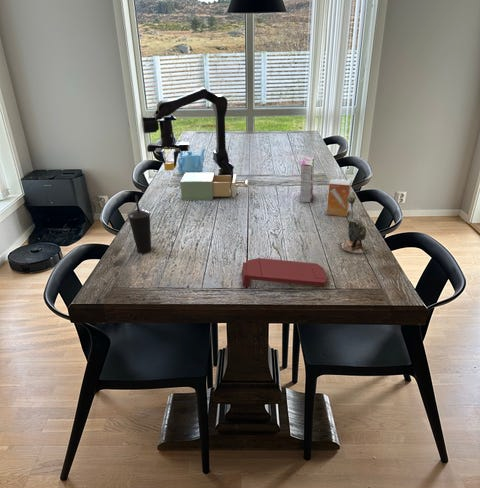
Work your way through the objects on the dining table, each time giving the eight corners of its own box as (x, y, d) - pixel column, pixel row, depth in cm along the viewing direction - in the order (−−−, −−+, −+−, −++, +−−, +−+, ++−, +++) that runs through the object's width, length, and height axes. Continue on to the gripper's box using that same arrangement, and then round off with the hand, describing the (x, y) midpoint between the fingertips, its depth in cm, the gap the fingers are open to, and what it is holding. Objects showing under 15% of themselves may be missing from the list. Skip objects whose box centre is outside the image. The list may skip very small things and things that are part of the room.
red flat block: (317, 277, 146) (241, 270, 143) (321, 263, 143) (243, 256, 141) (325, 296, 135) (243, 289, 133) (329, 282, 133) (245, 275, 130)
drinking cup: (145, 257, 154) (136, 200, 143) (128, 252, 157) (119, 197, 147) (159, 248, 159) (152, 193, 149) (143, 243, 163) (135, 190, 152)
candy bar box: (301, 193, 204) (303, 157, 196) (312, 194, 203) (314, 157, 195) (299, 202, 195) (300, 164, 186) (311, 203, 194) (313, 164, 185)
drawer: (248, 188, 210) (248, 174, 207) (247, 197, 200) (247, 182, 196) (209, 188, 211) (208, 174, 208) (206, 197, 201) (205, 182, 197)
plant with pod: (346, 258, 149) (353, 200, 139) (337, 243, 159) (343, 188, 148) (370, 256, 149) (378, 198, 139) (360, 242, 159) (367, 187, 149)
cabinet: (215, 190, 212) (214, 172, 208) (212, 199, 201) (211, 181, 196) (186, 190, 213) (185, 172, 209) (181, 200, 201) (180, 181, 197)
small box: (326, 215, 182) (328, 183, 175) (328, 209, 187) (331, 178, 180) (346, 216, 179) (350, 184, 173) (348, 211, 185) (351, 180, 178)
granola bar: (176, 165, 214) (176, 158, 213) (173, 170, 208) (172, 163, 206) (168, 165, 215) (167, 159, 213) (164, 170, 208) (164, 163, 206)
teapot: (174, 174, 234) (172, 155, 229) (180, 166, 247) (178, 147, 242) (202, 175, 233) (201, 155, 228) (206, 166, 246) (205, 147, 241)
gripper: (190, 126, 209) (193, 160, 217) (150, 127, 210) (154, 161, 218) (186, 132, 199) (189, 167, 207) (144, 133, 201) (149, 168, 209)
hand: (170, 165), depth 211 cm, fingers closed on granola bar, 4 cm apart
